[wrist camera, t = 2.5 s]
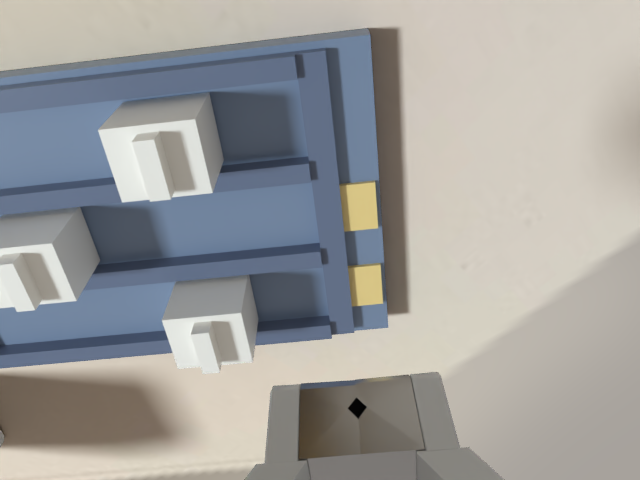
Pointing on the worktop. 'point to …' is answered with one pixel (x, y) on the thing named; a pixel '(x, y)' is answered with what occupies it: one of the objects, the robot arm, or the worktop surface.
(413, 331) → the worktop surface
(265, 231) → the switch bank
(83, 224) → the tab
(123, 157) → the tab
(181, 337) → the tab
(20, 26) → the worktop surface
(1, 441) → the skincare box
